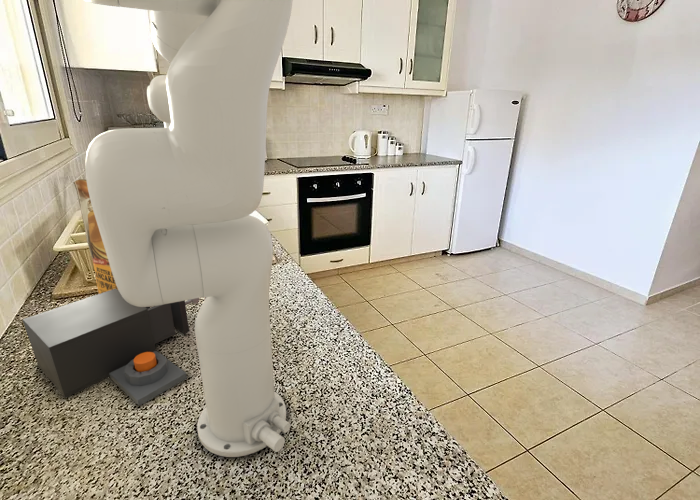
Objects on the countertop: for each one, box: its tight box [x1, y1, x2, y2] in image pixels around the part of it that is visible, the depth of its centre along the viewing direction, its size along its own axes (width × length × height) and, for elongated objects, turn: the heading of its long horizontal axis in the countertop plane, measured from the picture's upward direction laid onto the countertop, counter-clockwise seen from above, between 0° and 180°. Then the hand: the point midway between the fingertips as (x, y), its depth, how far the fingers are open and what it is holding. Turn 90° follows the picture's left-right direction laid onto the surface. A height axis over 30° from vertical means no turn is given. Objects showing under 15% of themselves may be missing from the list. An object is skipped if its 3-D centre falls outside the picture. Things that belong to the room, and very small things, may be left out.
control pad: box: [109, 350, 188, 406], centre depth 63 cm, size 10×8×3 cm
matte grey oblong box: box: [21, 288, 157, 399], centre depth 66 cm, size 15×13×10 cm
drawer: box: [145, 298, 200, 345], centre depth 73 cm, size 18×11×8 cm, turn 143°
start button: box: [134, 352, 157, 372], centre depth 62 cm, size 3×3×2 cm
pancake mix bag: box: [72, 178, 118, 294], centre depth 82 cm, size 7×19×28 cm, turn 65°
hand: (200, 233), depth 78 cm, fingers open, 8 cm apart
